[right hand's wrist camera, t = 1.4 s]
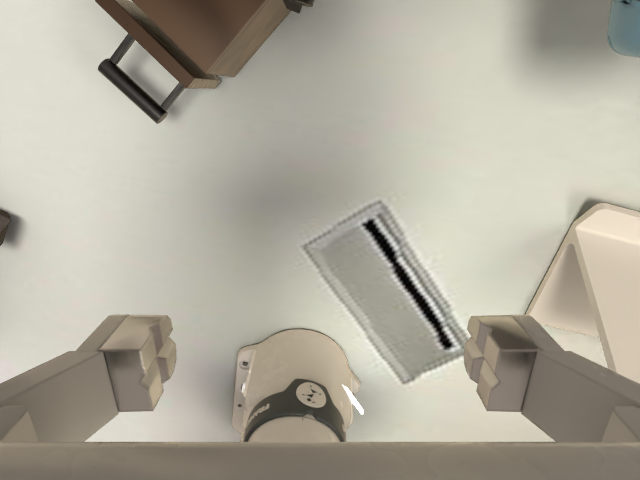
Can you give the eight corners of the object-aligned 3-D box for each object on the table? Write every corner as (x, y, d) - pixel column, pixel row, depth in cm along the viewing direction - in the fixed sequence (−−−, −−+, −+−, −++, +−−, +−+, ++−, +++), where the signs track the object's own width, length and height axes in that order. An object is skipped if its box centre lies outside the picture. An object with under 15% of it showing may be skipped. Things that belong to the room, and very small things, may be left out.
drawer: (181, 128, 44) (145, 137, 35) (112, 64, 41) (55, 57, 32) (330, -49, 38) (334, -92, 29) (260, -136, 35) (239, -213, 26)
